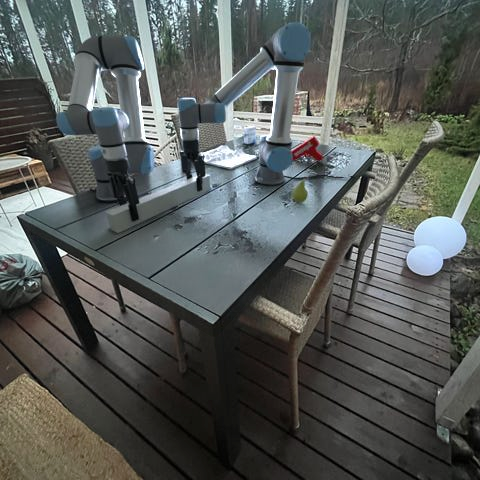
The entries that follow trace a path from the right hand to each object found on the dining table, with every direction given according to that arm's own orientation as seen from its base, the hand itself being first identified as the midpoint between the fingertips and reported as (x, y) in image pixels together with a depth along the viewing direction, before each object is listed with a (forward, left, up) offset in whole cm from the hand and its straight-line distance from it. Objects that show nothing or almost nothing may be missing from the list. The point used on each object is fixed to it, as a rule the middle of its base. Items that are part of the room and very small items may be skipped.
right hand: (195, 189), depth 129 cm
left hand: (+11, +34, 0) cm, 36 cm away
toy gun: (-44, -69, -2) cm, 82 cm away
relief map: (+8, -57, -2) cm, 58 cm away
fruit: (-49, -5, -2) cm, 49 cm away
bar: (+6, +17, -2) cm, 18 cm away
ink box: (+4, -105, -2) cm, 105 cm away
